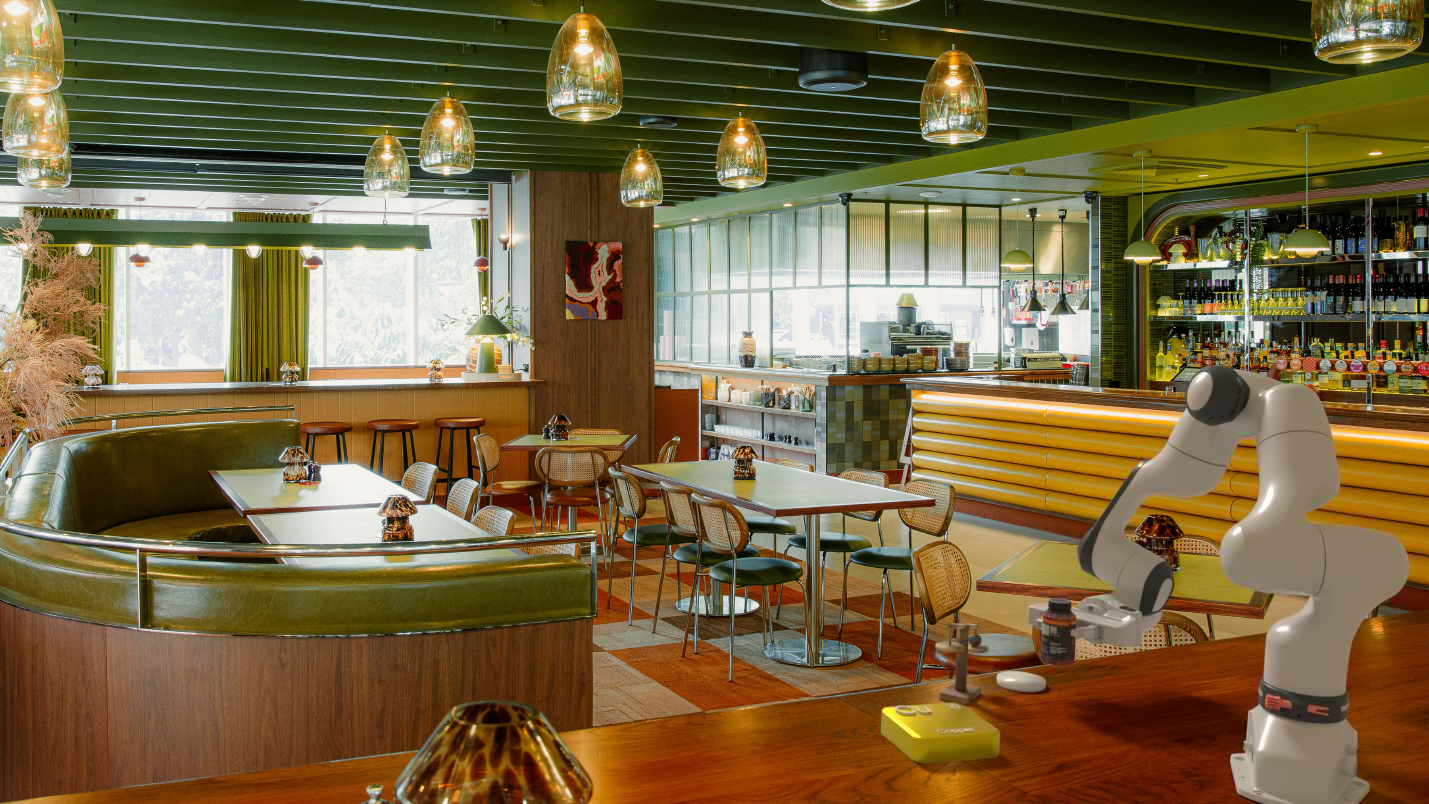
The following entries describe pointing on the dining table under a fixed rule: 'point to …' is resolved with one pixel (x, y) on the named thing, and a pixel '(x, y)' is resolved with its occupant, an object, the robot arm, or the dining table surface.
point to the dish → (1021, 681)
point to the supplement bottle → (1058, 633)
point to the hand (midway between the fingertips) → (1056, 629)
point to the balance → (962, 662)
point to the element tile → (940, 733)
